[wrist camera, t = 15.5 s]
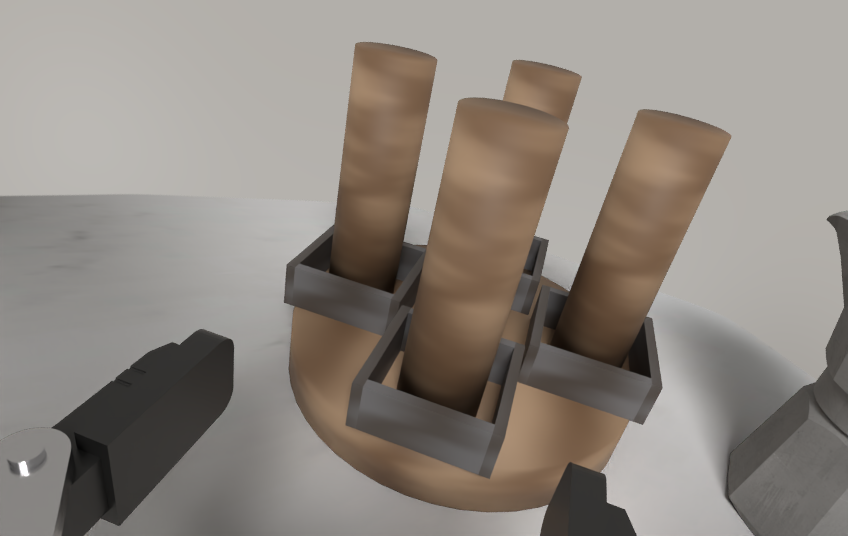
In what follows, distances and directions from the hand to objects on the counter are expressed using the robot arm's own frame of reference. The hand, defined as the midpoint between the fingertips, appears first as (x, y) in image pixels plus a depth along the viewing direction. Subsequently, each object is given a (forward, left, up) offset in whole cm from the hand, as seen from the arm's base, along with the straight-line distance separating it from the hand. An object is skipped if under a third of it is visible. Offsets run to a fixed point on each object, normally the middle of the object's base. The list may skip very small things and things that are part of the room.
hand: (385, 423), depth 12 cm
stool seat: (0, +18, -12) cm, 21 cm away
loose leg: (0, +11, -9) cm, 14 cm away
